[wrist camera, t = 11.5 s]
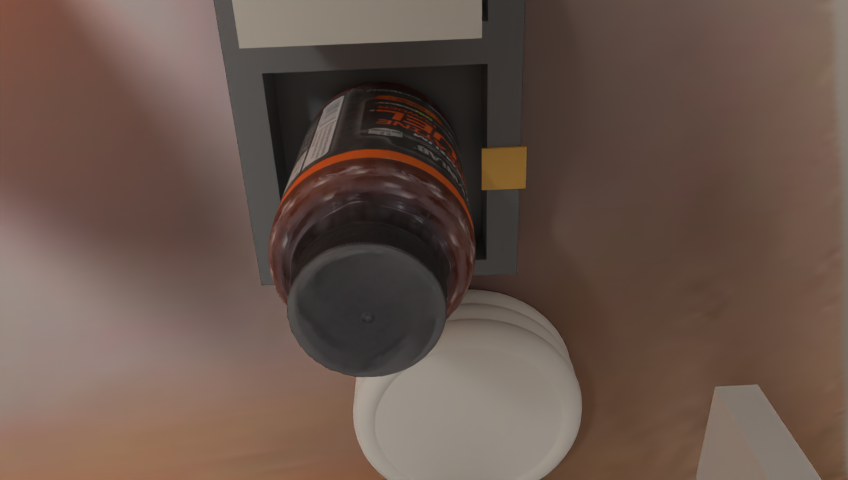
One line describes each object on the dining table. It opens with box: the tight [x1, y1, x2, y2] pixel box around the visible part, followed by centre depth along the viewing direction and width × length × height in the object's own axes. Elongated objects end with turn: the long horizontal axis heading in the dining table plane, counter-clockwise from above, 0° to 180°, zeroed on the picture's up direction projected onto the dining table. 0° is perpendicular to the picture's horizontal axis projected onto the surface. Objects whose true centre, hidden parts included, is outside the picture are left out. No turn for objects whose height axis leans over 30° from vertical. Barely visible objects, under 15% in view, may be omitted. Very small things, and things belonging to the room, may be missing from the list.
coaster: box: [353, 289, 582, 480], centre depth 32 cm, size 10×10×4 cm
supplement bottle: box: [268, 82, 476, 377], centre depth 23 cm, size 6×6×11 cm
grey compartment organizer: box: [213, 0, 527, 285], centre depth 22 cm, size 18×10×8 cm, turn 2°
